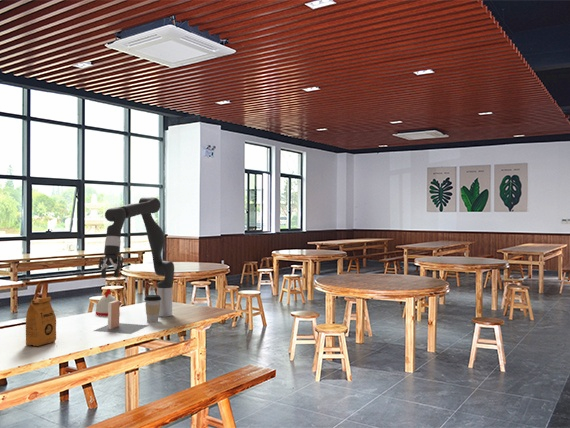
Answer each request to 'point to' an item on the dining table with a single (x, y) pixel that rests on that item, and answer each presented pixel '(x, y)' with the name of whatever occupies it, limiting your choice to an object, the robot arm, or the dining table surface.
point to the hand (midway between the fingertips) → (109, 277)
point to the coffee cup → (152, 307)
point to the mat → (122, 328)
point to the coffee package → (40, 323)
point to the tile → (113, 314)
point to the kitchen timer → (104, 304)
